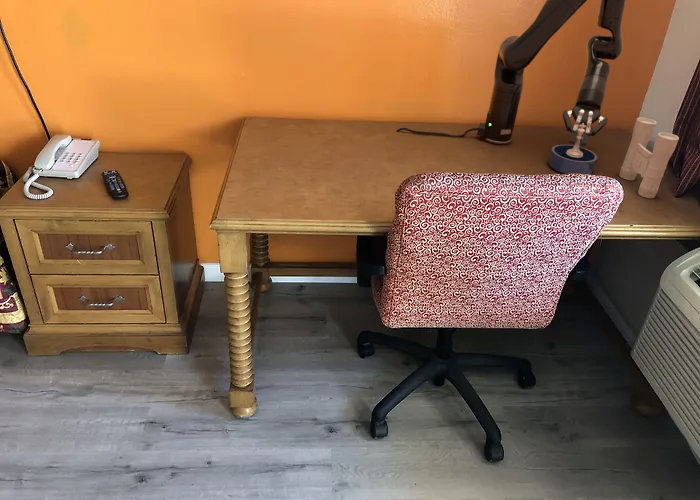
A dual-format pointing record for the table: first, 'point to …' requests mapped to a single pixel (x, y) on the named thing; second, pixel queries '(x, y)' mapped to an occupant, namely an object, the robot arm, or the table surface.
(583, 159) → the bowl
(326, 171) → the table surface
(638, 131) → the binoculars
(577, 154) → the chess piece
